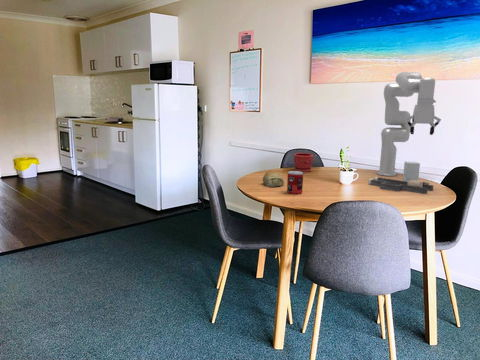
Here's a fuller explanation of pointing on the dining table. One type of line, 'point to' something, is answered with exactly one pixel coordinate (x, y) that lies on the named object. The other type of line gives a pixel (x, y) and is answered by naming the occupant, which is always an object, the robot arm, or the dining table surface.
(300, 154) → the plant pot
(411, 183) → the birch block
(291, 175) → the canned food
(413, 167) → the supplement box
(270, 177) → the pastry
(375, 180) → the trap channel
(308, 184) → the dining table surface
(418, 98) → the robot arm
